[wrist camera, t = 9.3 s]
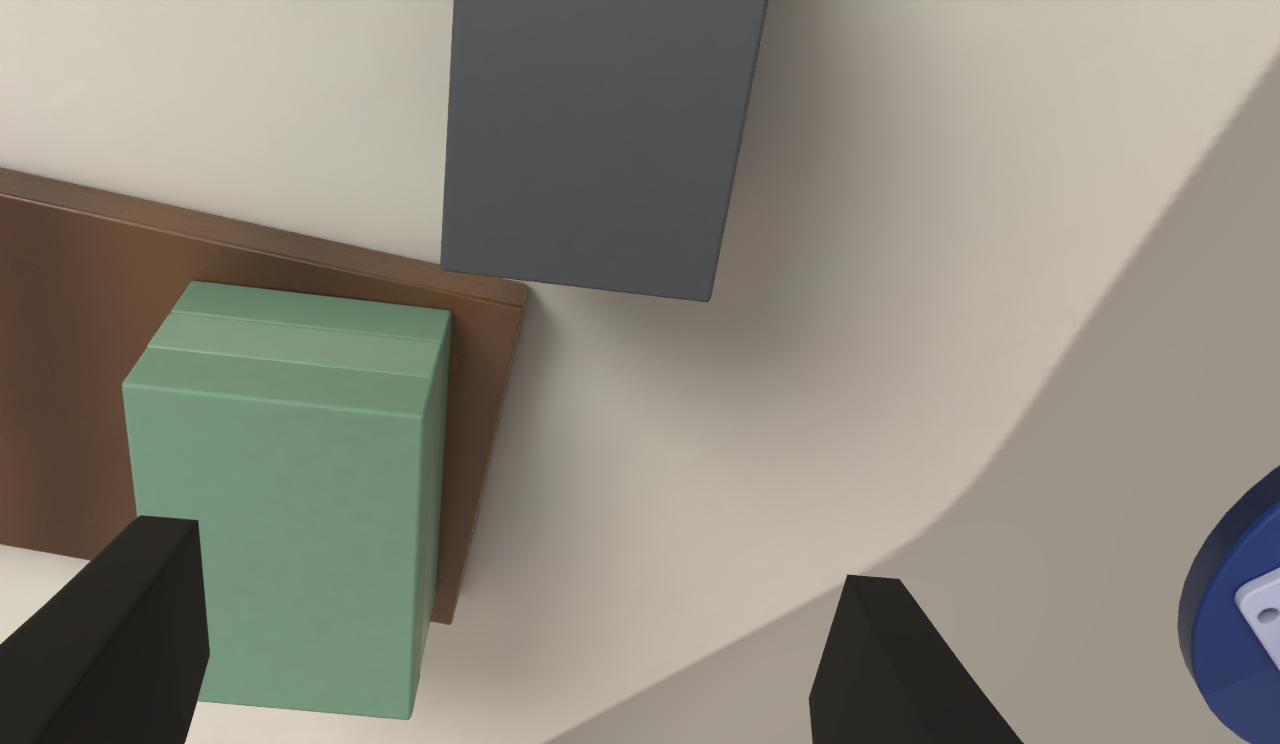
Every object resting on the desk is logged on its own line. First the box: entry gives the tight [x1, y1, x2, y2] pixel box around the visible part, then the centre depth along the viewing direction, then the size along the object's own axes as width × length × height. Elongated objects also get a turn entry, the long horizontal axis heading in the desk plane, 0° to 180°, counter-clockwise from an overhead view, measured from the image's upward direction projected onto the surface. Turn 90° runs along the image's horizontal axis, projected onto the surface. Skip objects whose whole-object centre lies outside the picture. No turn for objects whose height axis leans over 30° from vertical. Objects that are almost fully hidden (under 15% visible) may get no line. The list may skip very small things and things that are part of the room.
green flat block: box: [147, 281, 452, 666], centre depth 22 cm, size 5×7×2 cm, turn 172°
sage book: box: [122, 347, 435, 720], centre depth 21 cm, size 5×7×1 cm, turn 172°
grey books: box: [440, 0, 768, 302], centre depth 18 cm, size 4×7×4 cm, turn 172°
